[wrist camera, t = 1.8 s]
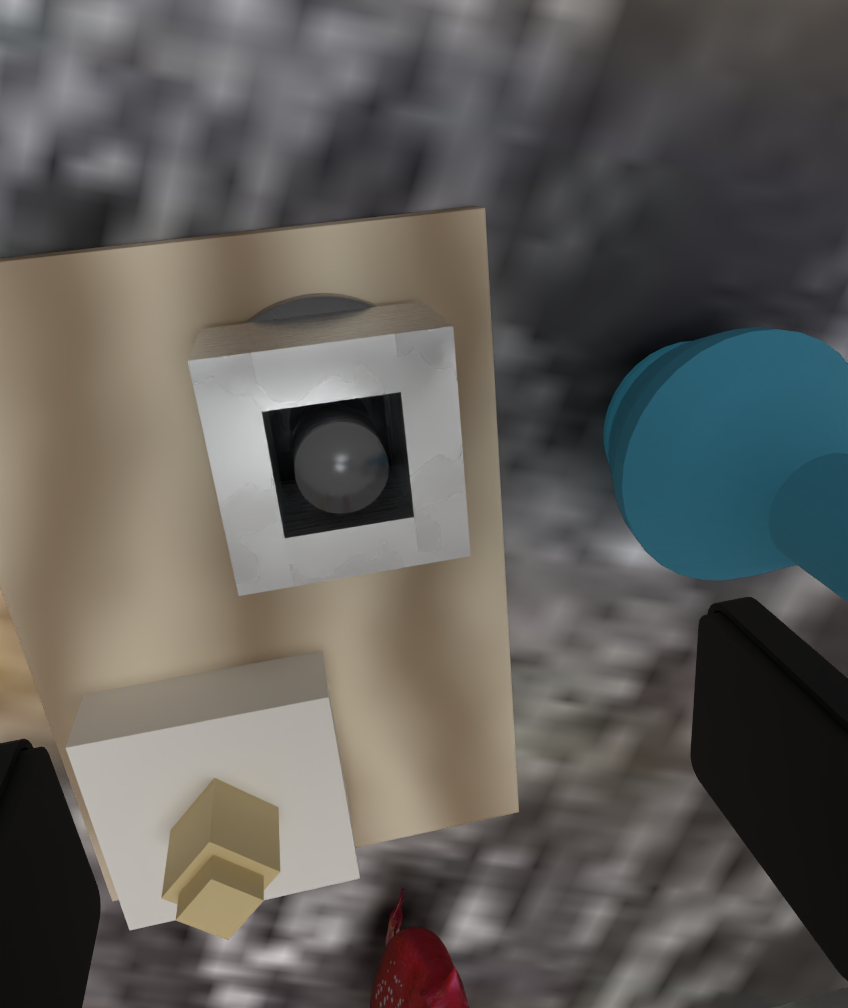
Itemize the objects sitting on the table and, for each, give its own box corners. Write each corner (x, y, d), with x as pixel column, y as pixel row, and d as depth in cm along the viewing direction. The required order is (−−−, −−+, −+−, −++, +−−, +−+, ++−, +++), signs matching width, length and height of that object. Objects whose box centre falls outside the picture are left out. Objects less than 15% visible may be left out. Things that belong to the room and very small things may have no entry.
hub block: (322, 650, 31) (338, 775, 24) (352, 822, 34) (372, 969, 28) (83, 694, 30) (35, 838, 23) (140, 867, 33) (112, 1032, 27)
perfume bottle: (532, 392, 30) (759, 578, 16) (742, 258, 29) (1155, 334, 16) (628, 566, 34) (875, 833, 20) (815, 451, 33) (1195, 644, 20)
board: (473, 206, 27) (484, 207, 25) (509, 788, 37) (518, 811, 36) (-91, 268, 24) (-112, 273, 23) (118, 872, 35) (112, 901, 34)
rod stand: (430, 279, 26) (472, 306, 21) (448, 499, 29) (489, 572, 24) (182, 308, 25) (162, 346, 20) (230, 535, 28) (224, 618, 23)
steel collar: (422, 300, 25) (453, 326, 21) (439, 500, 28) (470, 555, 24) (200, 328, 24) (187, 360, 20) (241, 531, 27) (238, 596, 23)
